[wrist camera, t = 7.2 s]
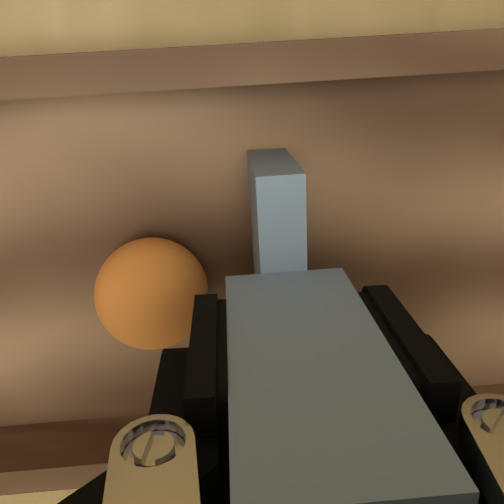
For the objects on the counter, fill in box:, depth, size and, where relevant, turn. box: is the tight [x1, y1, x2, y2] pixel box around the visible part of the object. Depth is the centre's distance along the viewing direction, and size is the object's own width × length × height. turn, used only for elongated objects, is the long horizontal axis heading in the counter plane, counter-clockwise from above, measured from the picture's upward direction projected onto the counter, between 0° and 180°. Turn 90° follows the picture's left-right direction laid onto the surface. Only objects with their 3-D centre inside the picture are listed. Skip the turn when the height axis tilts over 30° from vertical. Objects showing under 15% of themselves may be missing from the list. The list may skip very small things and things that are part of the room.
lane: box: [0, 28, 504, 495], centre depth 15 cm, size 14×50×6 cm, turn 93°
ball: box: [94, 237, 209, 350], centre depth 15 cm, size 4×4×4 cm
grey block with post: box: [225, 148, 480, 504], centre depth 11 cm, size 8×3×11 cm, turn 3°
